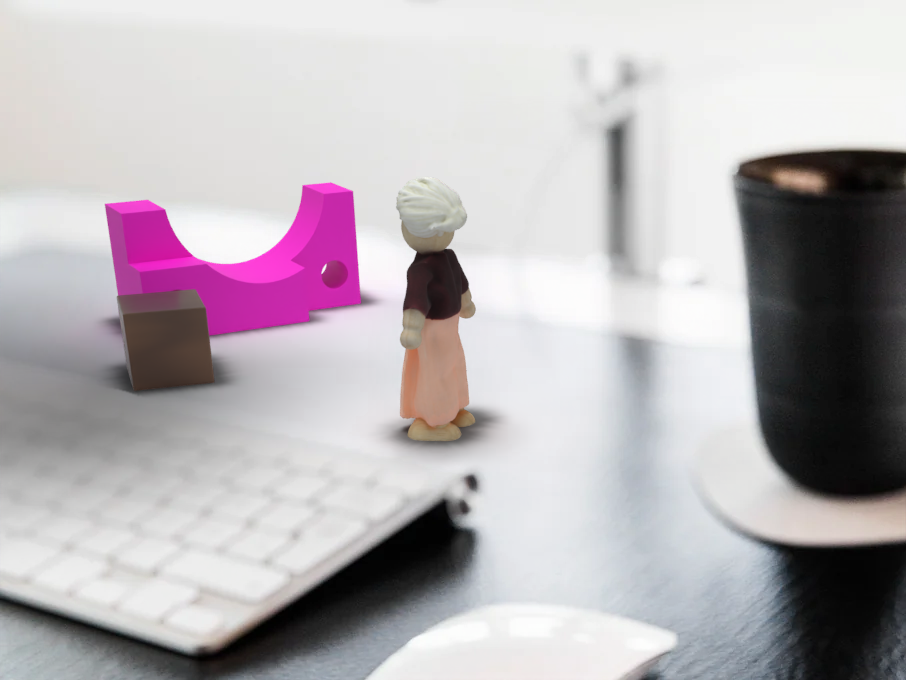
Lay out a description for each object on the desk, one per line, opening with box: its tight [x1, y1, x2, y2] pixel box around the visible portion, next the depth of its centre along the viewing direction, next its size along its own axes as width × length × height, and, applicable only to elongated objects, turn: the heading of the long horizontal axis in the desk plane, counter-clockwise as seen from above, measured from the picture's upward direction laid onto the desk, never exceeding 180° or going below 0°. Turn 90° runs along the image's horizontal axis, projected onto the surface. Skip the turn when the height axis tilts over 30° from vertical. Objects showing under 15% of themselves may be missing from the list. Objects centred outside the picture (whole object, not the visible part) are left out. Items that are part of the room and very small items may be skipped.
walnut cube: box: [116, 289, 216, 392], centre depth 80 cm, size 4×4×4 cm
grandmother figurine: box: [395, 176, 477, 442], centre depth 70 cm, size 8×4×13 cm, turn 174°
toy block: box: [104, 181, 362, 337], centre depth 91 cm, size 15×6×8 cm, turn 122°
